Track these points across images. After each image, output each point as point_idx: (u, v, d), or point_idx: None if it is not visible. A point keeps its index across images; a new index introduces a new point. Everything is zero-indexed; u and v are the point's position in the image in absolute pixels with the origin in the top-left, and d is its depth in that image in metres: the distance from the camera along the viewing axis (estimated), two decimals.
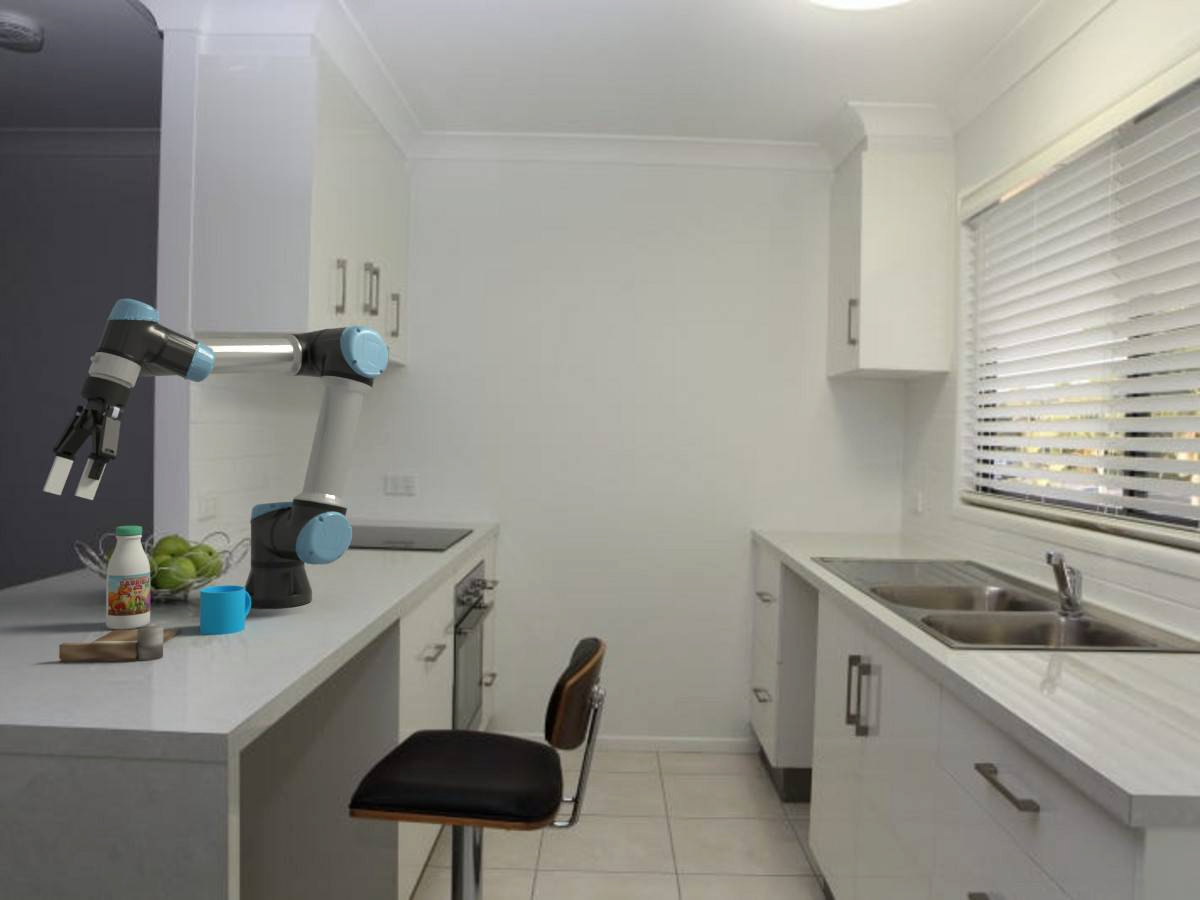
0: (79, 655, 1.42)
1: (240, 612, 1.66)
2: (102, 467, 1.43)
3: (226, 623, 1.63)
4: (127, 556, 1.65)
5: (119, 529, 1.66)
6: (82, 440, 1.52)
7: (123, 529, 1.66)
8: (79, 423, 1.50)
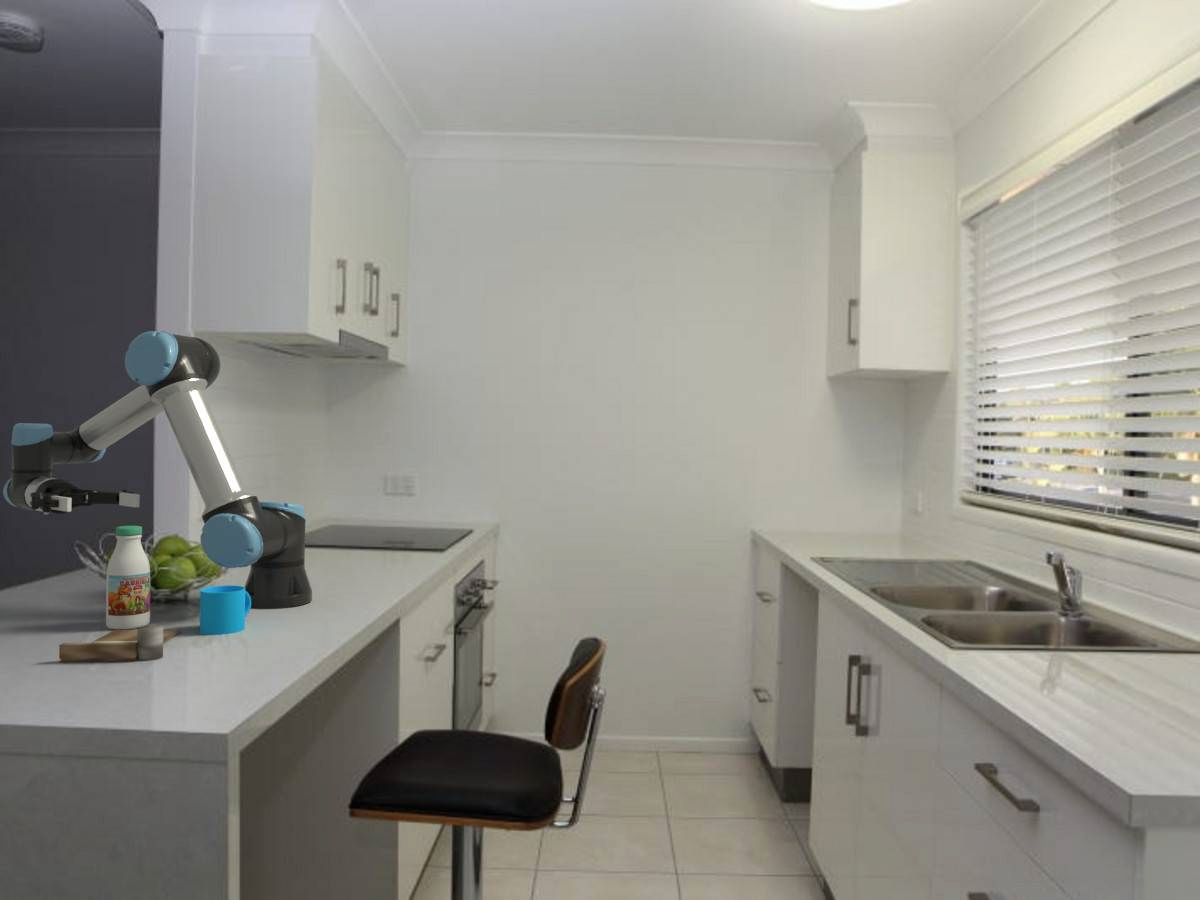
0: (79, 655, 1.42)
1: (240, 612, 1.66)
2: (47, 500, 1.68)
3: (226, 623, 1.63)
4: (127, 556, 1.65)
5: (119, 529, 1.66)
6: (100, 494, 1.82)
7: (123, 529, 1.66)
8: (83, 504, 1.81)
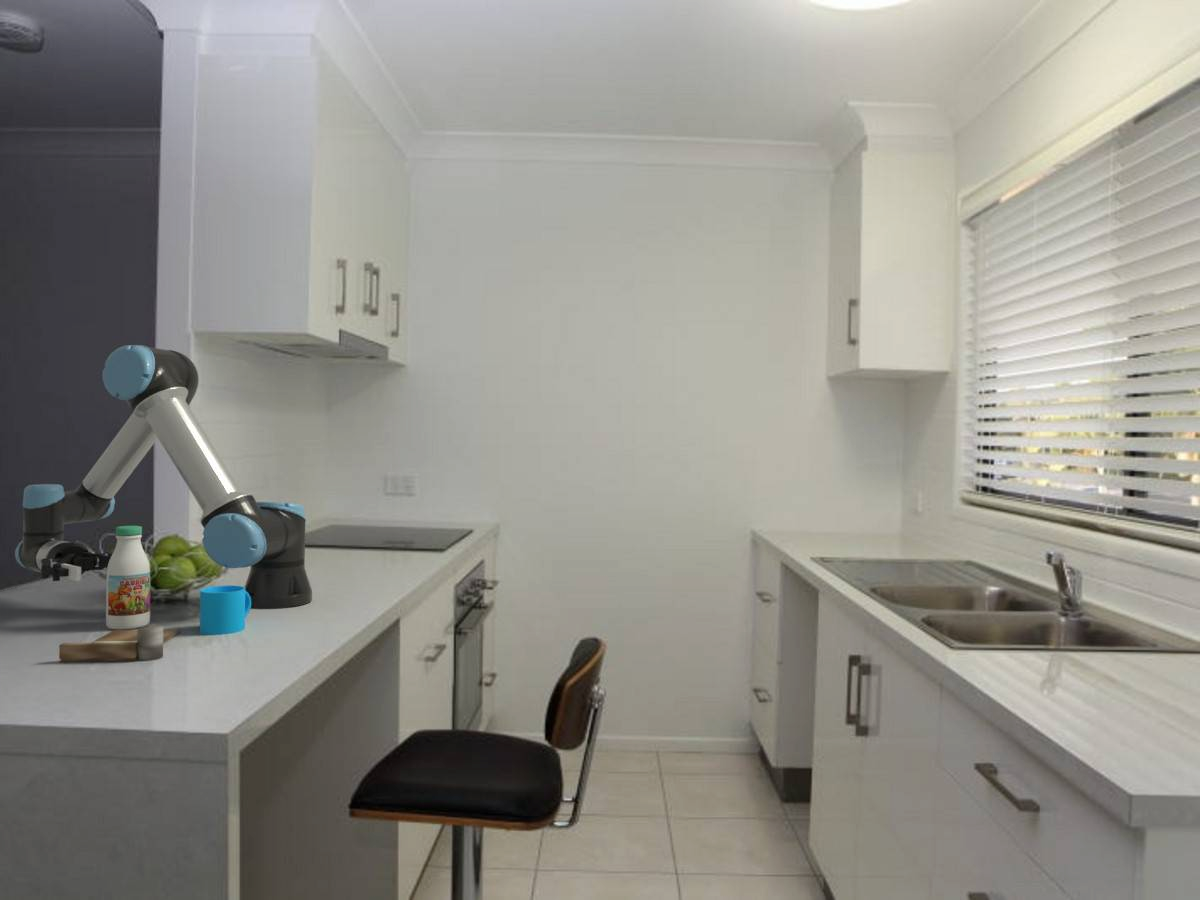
0: (79, 655, 1.42)
1: (240, 612, 1.66)
2: (56, 569, 1.66)
3: (226, 623, 1.63)
4: (127, 556, 1.65)
5: (119, 529, 1.66)
6: None
7: (123, 529, 1.66)
8: (94, 568, 1.79)
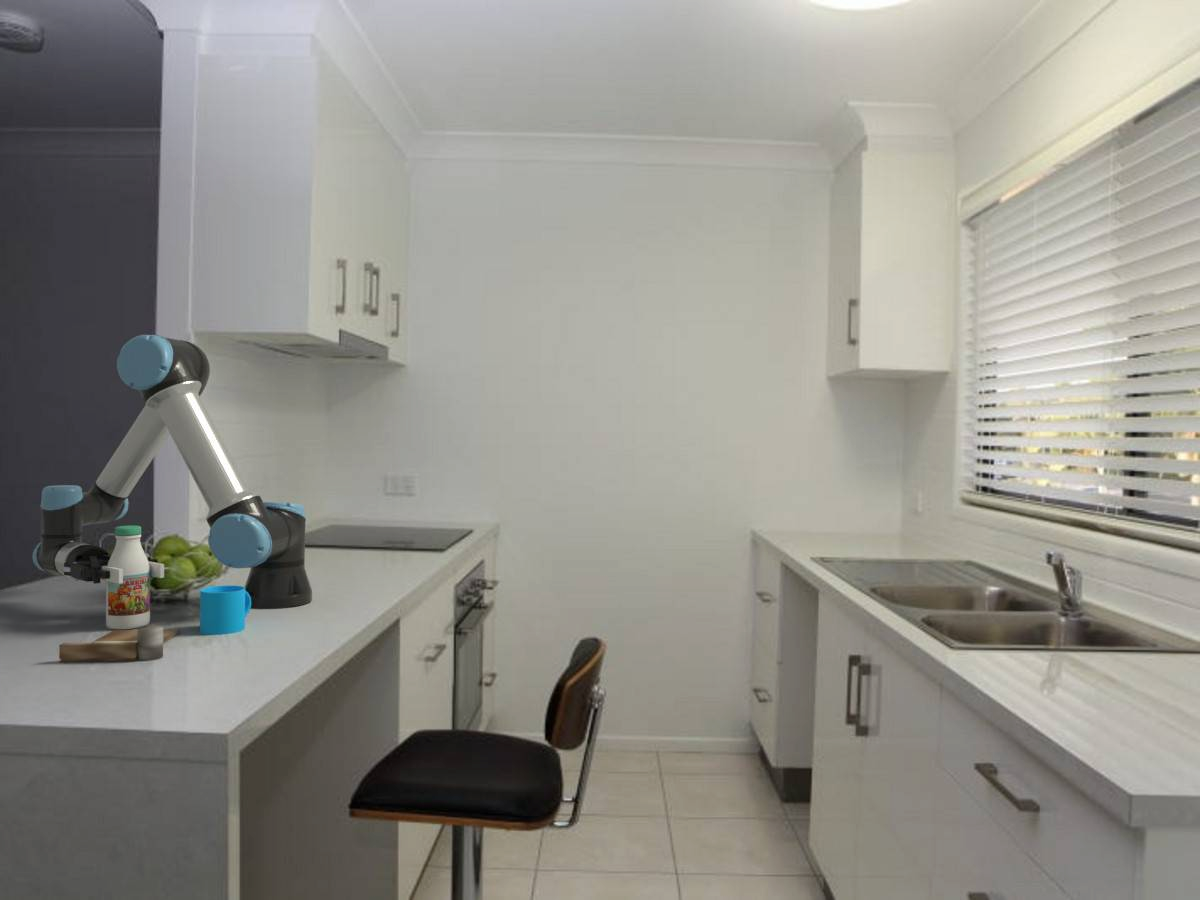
0: (79, 655, 1.42)
1: (240, 612, 1.66)
2: (97, 571, 1.64)
3: (226, 623, 1.63)
4: (126, 556, 1.65)
5: (118, 529, 1.65)
6: None
7: (122, 529, 1.65)
8: None
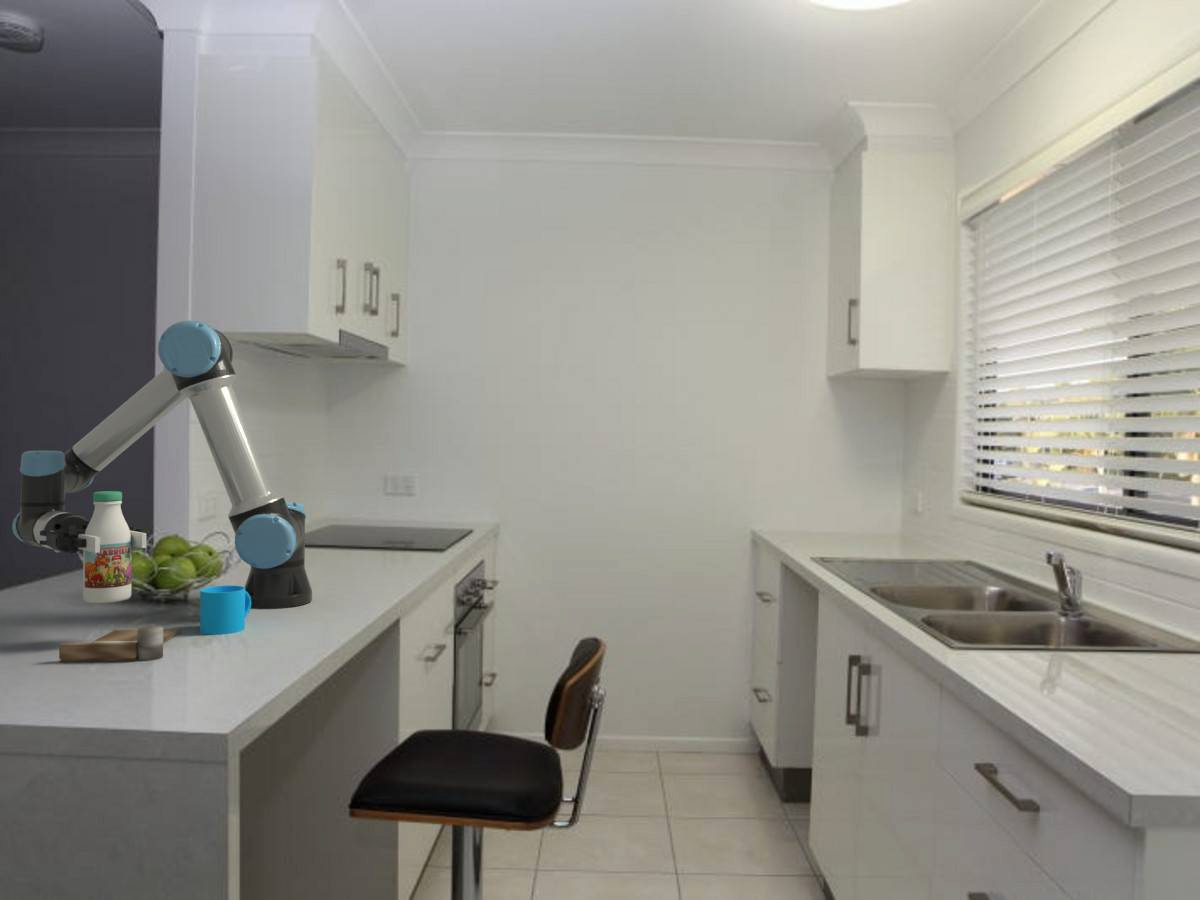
0: (79, 655, 1.42)
1: (240, 612, 1.66)
2: (73, 540, 1.51)
3: (226, 623, 1.63)
4: (105, 523, 1.52)
5: (96, 494, 1.52)
6: None
7: (101, 494, 1.52)
8: None
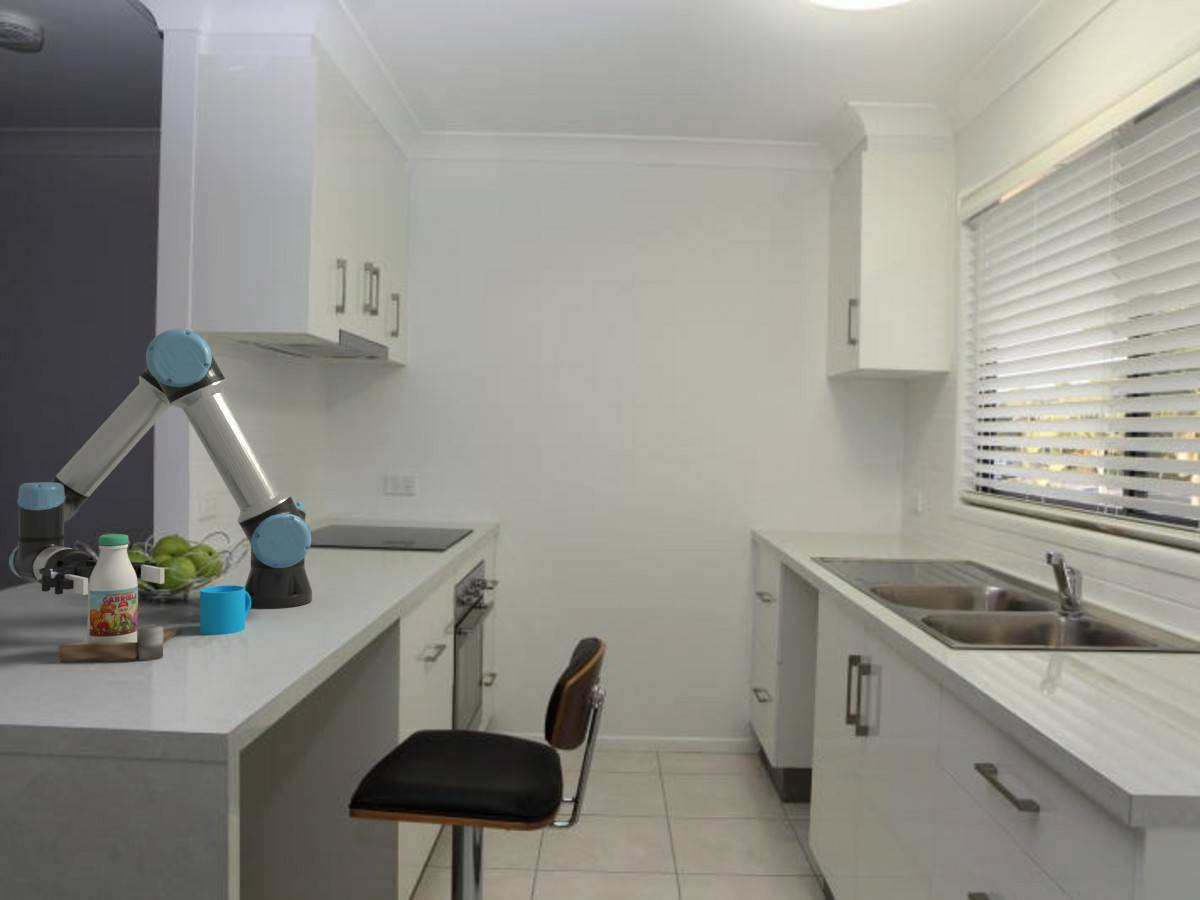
0: (79, 655, 1.42)
1: (240, 612, 1.66)
2: (59, 581, 1.43)
3: (226, 623, 1.63)
4: (111, 569, 1.46)
5: (102, 538, 1.46)
6: None
7: (106, 538, 1.46)
8: None
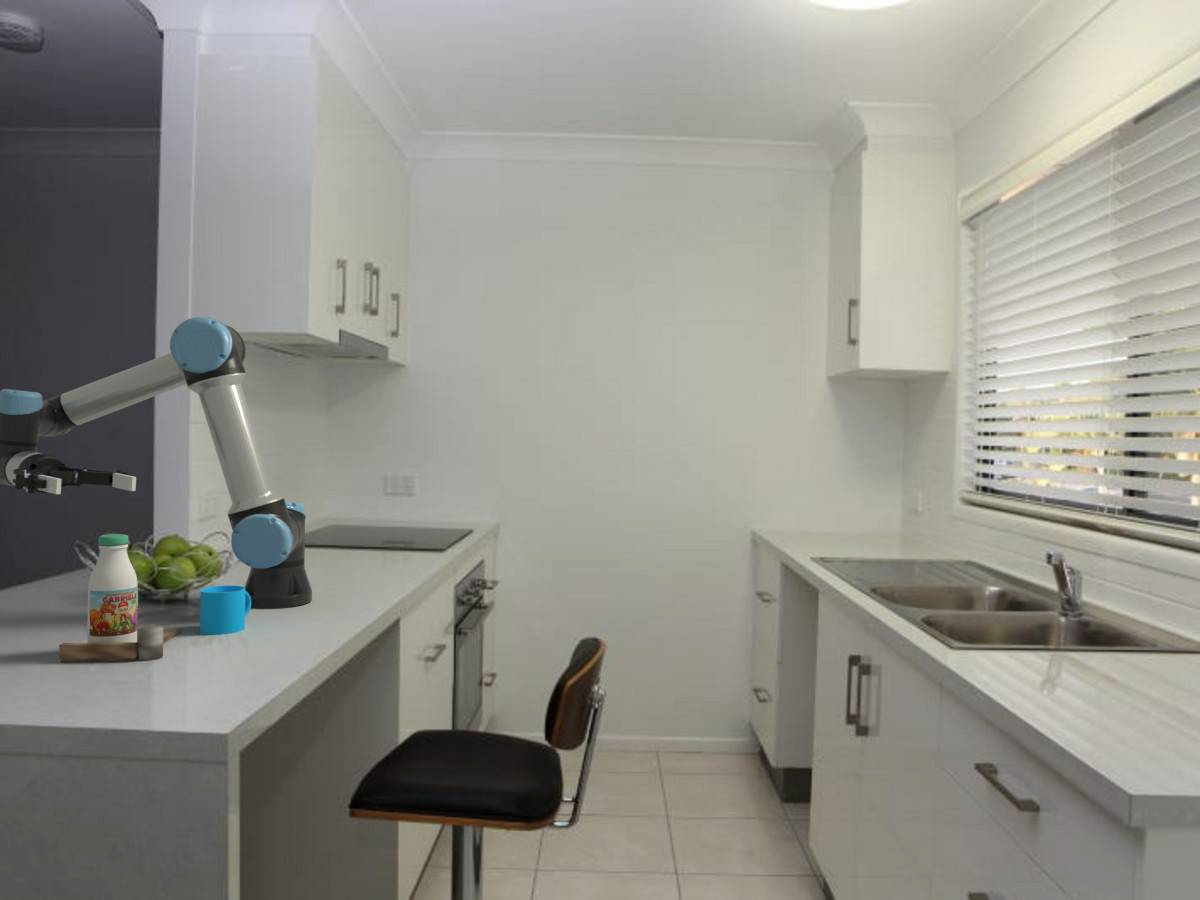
0: (79, 655, 1.42)
1: (240, 612, 1.66)
2: (33, 480, 1.51)
3: (226, 623, 1.63)
4: (111, 569, 1.46)
5: (102, 538, 1.46)
6: (91, 474, 1.64)
7: (106, 538, 1.46)
8: (72, 484, 1.64)
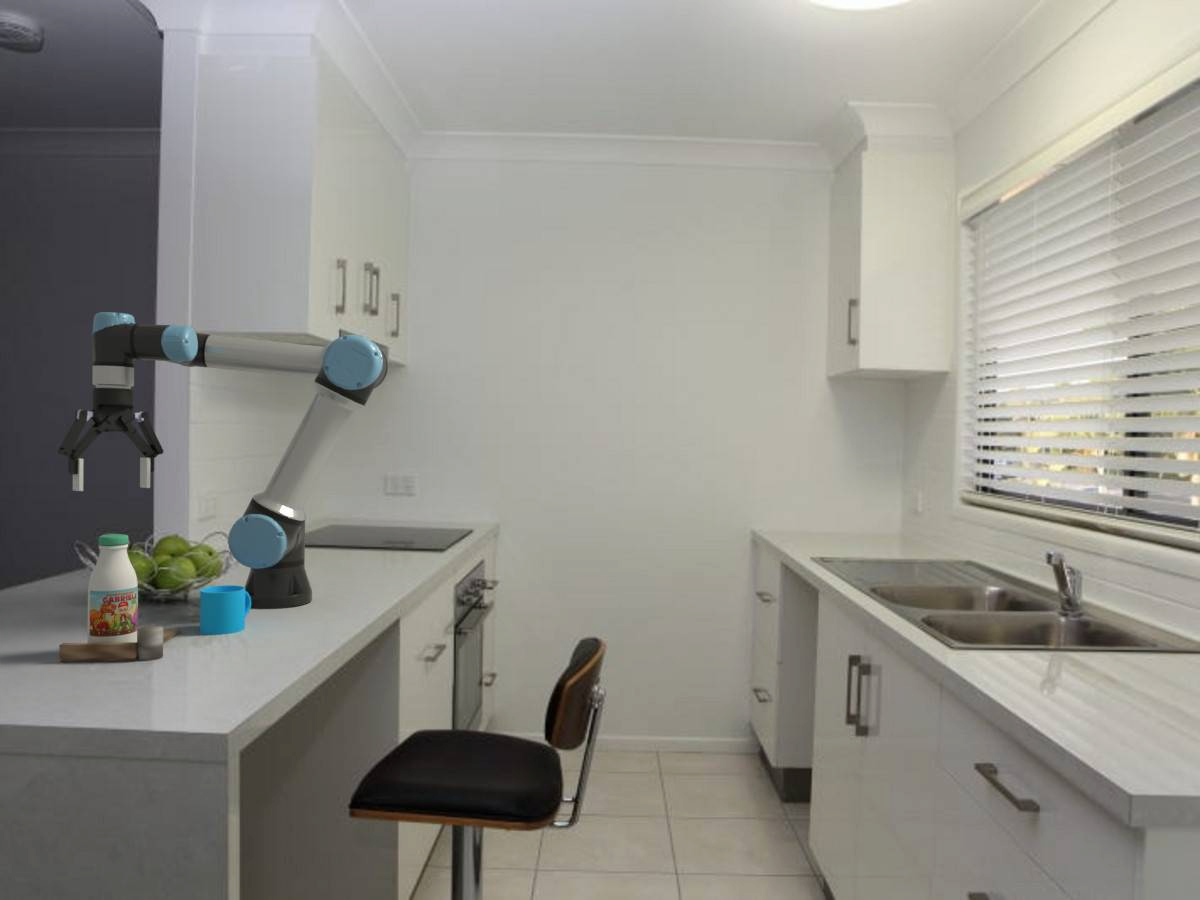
0: (79, 655, 1.42)
1: (240, 612, 1.66)
2: (71, 463, 1.68)
3: (226, 623, 1.63)
4: (111, 569, 1.46)
5: (102, 538, 1.46)
6: (135, 440, 1.79)
7: (107, 538, 1.46)
8: None
